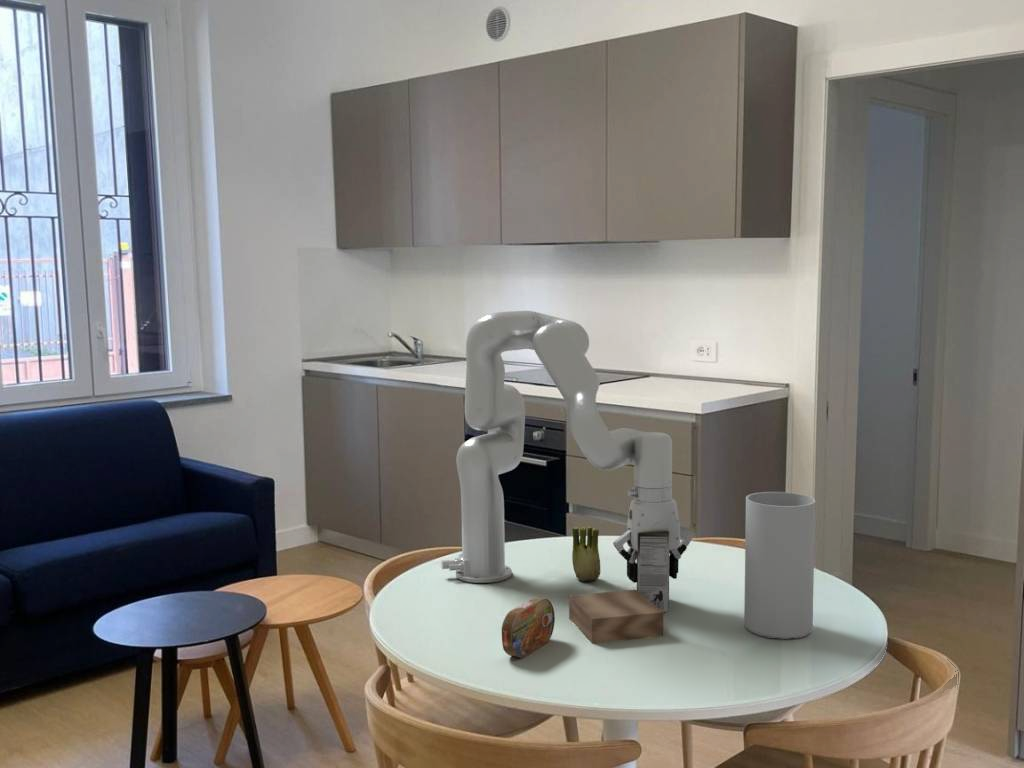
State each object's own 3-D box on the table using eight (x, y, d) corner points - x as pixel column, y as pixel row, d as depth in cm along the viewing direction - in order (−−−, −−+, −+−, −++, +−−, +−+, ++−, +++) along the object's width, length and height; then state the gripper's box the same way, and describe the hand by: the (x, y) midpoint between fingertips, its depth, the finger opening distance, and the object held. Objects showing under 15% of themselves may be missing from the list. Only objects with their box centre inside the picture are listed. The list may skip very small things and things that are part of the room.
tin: (513, 664, 176) (513, 617, 175) (498, 661, 178) (497, 614, 177) (556, 637, 189) (556, 593, 188) (541, 634, 191) (541, 591, 190)
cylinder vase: (730, 623, 195) (732, 495, 193) (783, 614, 200) (786, 489, 198) (771, 644, 184) (774, 509, 181) (826, 634, 189) (829, 502, 186)
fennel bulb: (569, 579, 225) (569, 526, 223) (585, 575, 228) (585, 522, 227) (588, 585, 220) (588, 531, 219) (604, 580, 224) (604, 527, 222)
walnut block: (592, 645, 186) (591, 619, 185) (569, 620, 199) (568, 595, 199) (663, 638, 189) (663, 612, 189) (636, 614, 203) (636, 589, 202)
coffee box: (636, 597, 212) (636, 521, 210) (667, 598, 211) (667, 521, 209) (637, 611, 203) (637, 532, 201) (669, 612, 202) (670, 533, 200)
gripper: (619, 500, 199) (619, 588, 200) (700, 494, 203) (700, 580, 205) (605, 493, 206) (605, 577, 208) (684, 487, 210) (684, 570, 212)
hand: (652, 578), depth 206 cm, fingers closed on coffee box, 8 cm apart
